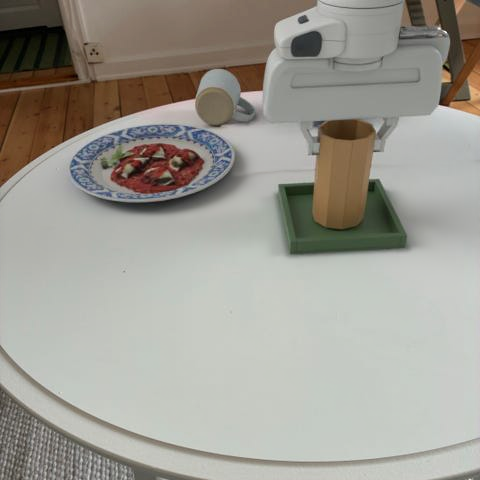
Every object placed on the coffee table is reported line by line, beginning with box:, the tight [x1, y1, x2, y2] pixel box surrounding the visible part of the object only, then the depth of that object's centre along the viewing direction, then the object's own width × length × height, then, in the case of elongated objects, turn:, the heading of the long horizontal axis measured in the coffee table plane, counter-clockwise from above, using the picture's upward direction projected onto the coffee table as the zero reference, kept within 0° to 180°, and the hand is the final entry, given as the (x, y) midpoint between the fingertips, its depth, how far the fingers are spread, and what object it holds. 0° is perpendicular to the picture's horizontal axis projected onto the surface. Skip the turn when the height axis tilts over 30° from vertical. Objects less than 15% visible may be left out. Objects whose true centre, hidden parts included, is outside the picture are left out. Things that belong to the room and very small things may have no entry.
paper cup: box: [312, 119, 377, 229], centre depth 69 cm, size 7×7×12 cm
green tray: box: [277, 178, 408, 255], centre depth 73 cm, size 15×15×2 cm
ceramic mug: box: [194, 68, 257, 127], centre depth 97 cm, size 11×8×8 cm
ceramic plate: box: [67, 123, 236, 203], centre depth 84 cm, size 26×26×3 cm
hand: (344, 151), depth 67 cm, fingers closed on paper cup, 6 cm apart
